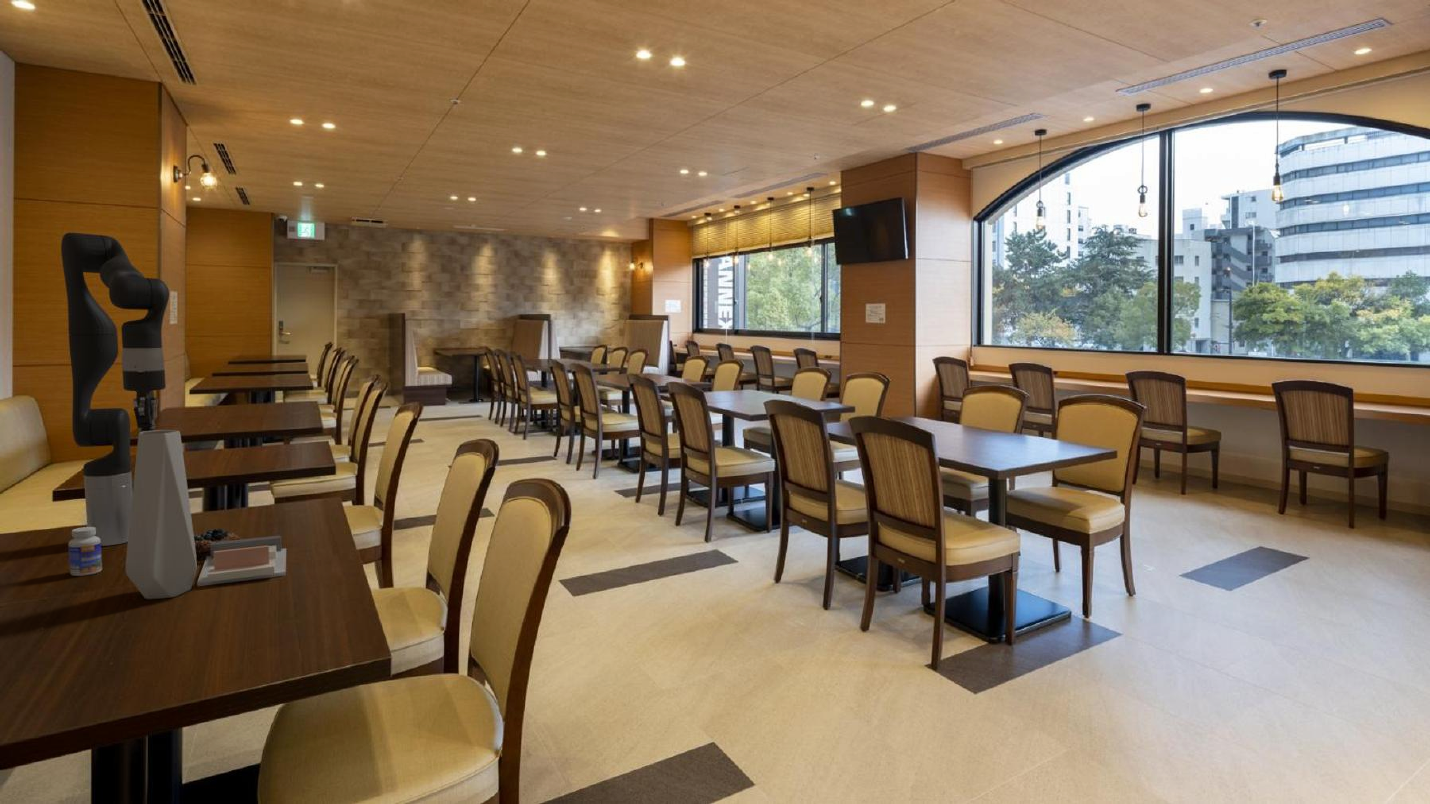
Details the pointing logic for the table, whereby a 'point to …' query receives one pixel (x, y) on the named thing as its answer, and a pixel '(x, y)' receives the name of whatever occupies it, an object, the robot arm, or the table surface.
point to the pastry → (211, 536)
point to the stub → (241, 563)
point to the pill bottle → (85, 552)
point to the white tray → (272, 541)
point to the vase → (160, 519)
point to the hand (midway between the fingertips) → (148, 445)
